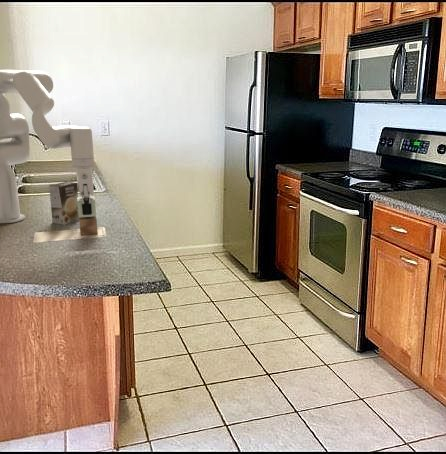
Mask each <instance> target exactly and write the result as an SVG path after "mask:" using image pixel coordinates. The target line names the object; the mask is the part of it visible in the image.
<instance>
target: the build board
mask: <svg viewBox="0 0 446 454" xmlns="http://www.w3.org/2000/svg"><path fill="white" fill-rule="evenodd" d="M97 231H98V235H86V236H81V234H80V228H77V229H65V230H64V229H63V230H52V231H51V230H49V231H41V232H39V231H38V232H34V235H33V241H32V243H33V244H36V243H48V242H56V241H57V242H59V241H71V240H78V239H79V240H81V239H93V238H94V239H95V238H105V237H106V238H107V232H106V228H105V227H104V226H103V227H102V226H100V227H97Z"/></svg>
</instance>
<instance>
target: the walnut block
mask: <svg viewBox="0 0 446 454" xmlns="http://www.w3.org/2000/svg"><path fill="white" fill-rule="evenodd" d="M78 222H79V229H80V234H81V236H86V235H98V231H97V228H98V218H97V215H96V216H92V217H79V220H78Z"/></svg>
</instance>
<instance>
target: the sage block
mask: <svg viewBox="0 0 446 454" xmlns="http://www.w3.org/2000/svg"><path fill="white" fill-rule="evenodd" d="M77 201H78V213H79V217H92V216H96V217H97V209H96V198H95V196H94V195H92V196H90V203H91V207H92V214H91V215H83V212H82V204H83V203H82V196H80V197H79V196H78V197H77Z"/></svg>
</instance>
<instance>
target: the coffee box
mask: <svg viewBox="0 0 446 454" xmlns="http://www.w3.org/2000/svg"><path fill="white" fill-rule="evenodd" d="M48 189H49V197H50V210H51V211H50V212H51V220H52V224H59V225H67V224H71V223H73V222H76V221H77V222H79V213H78V201H77V197H79V189H78V182H72V181H64V182H60V183H59V182H58V183H53V184H49V186H48Z"/></svg>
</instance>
